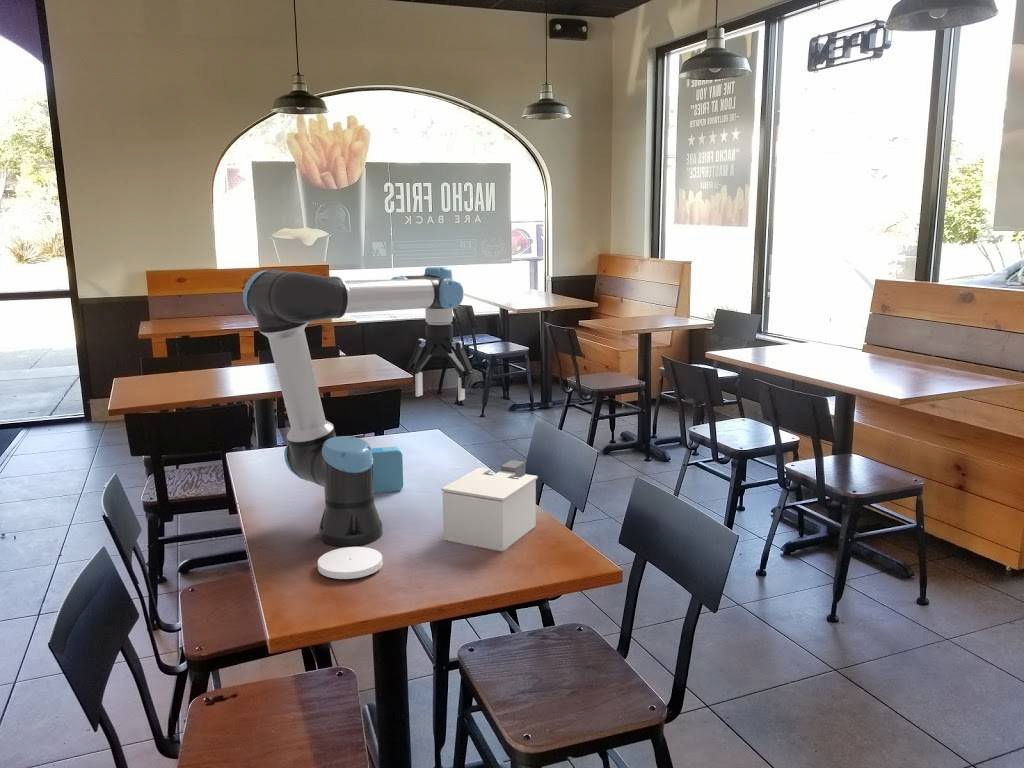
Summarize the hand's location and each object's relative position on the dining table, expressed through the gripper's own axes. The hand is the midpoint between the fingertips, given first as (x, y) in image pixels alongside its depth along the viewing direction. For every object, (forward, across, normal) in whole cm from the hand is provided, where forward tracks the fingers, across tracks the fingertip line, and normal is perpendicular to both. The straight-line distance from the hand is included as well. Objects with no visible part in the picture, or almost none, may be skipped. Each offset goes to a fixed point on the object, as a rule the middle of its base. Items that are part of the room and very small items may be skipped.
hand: (440, 397), depth 234 cm
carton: (+26, -29, +28) cm, 48 cm away
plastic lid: (+27, -9, +59) cm, 65 cm away
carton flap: (+15, -29, +24) cm, 41 cm away
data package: (+26, +14, +11) cm, 31 cm away
